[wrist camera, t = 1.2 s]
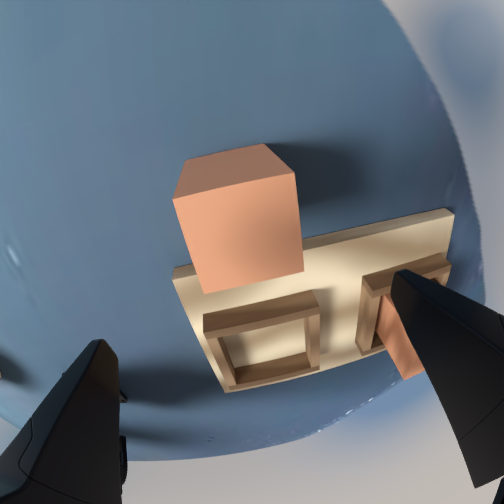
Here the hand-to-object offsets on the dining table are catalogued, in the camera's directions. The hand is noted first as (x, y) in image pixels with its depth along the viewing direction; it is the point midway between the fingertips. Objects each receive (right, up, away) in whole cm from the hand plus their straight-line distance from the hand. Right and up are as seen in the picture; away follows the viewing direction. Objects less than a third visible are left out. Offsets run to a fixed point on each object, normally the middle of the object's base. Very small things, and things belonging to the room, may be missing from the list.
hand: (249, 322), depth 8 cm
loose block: (-1, +6, +11) cm, 12 cm away
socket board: (+7, -3, +18) cm, 19 cm away
